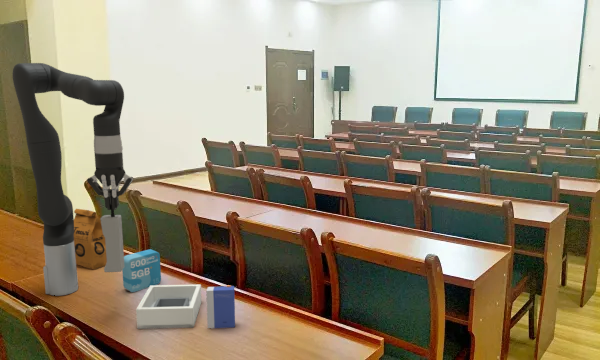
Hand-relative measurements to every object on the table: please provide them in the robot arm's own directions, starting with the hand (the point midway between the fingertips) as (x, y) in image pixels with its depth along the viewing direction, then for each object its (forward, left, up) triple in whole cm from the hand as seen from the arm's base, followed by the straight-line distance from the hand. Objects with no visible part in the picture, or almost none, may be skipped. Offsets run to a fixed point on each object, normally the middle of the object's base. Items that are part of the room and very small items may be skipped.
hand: (112, 209), depth 144 cm
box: (+16, -2, -33) cm, 37 cm away
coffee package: (-23, +42, -33) cm, 58 cm away
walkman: (+32, -10, -33) cm, 47 cm away
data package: (+2, +20, -33) cm, 39 cm away
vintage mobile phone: (-1, 0, -19) cm, 19 cm away
